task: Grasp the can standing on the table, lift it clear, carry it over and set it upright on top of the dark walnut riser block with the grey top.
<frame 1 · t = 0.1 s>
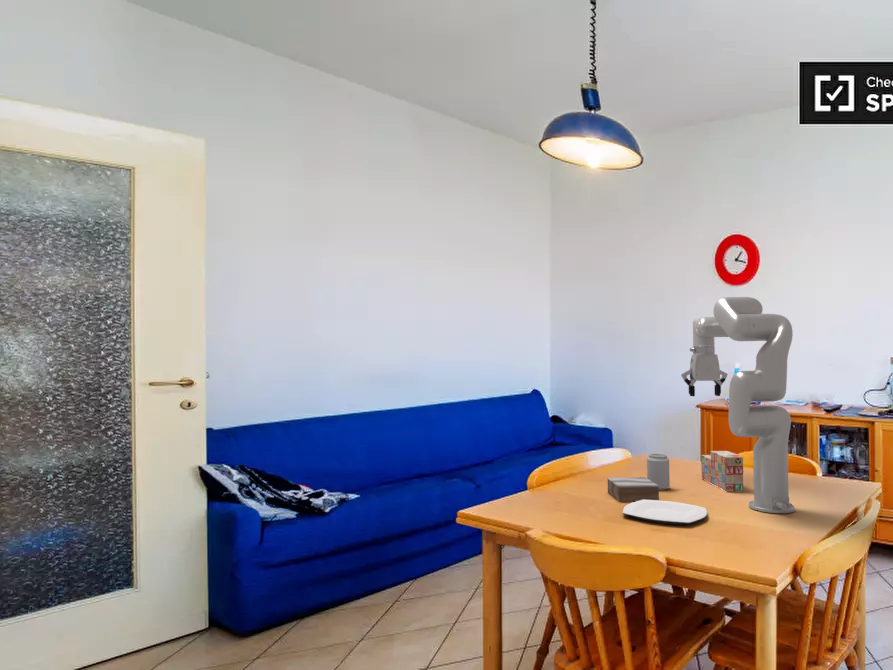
hand: (704, 395, 238), 31 cm above the table, tool pointing down, fingers open, 9 cm apart
riser: (632, 496, 210), on the table
stack of blocks: (721, 486, 225), on the table
plate: (664, 517, 186), on the table
can: (658, 488, 222), on the table
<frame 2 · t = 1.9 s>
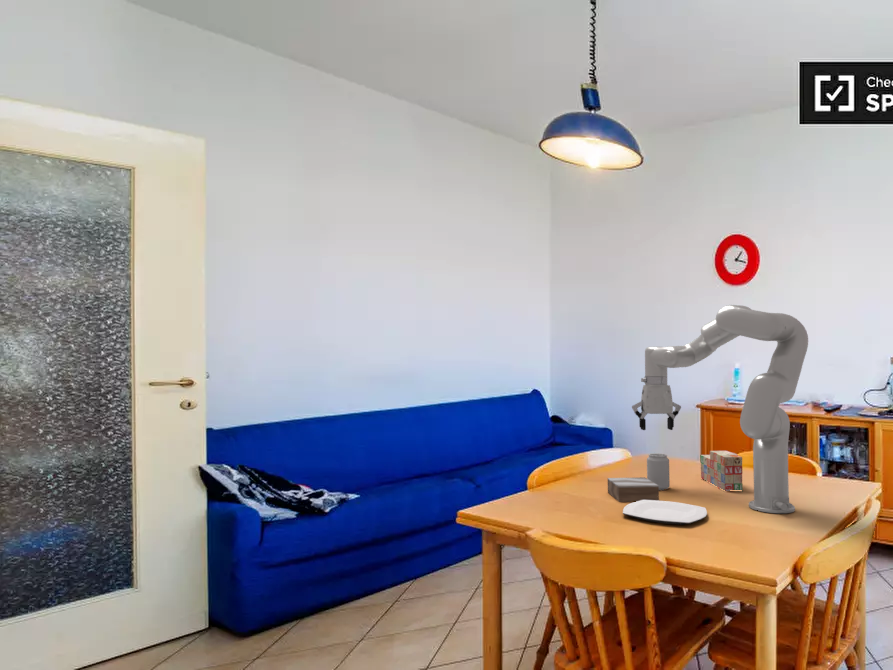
hand: (656, 429, 222), 21 cm above the table, tool pointing down, fingers open, 9 cm apart
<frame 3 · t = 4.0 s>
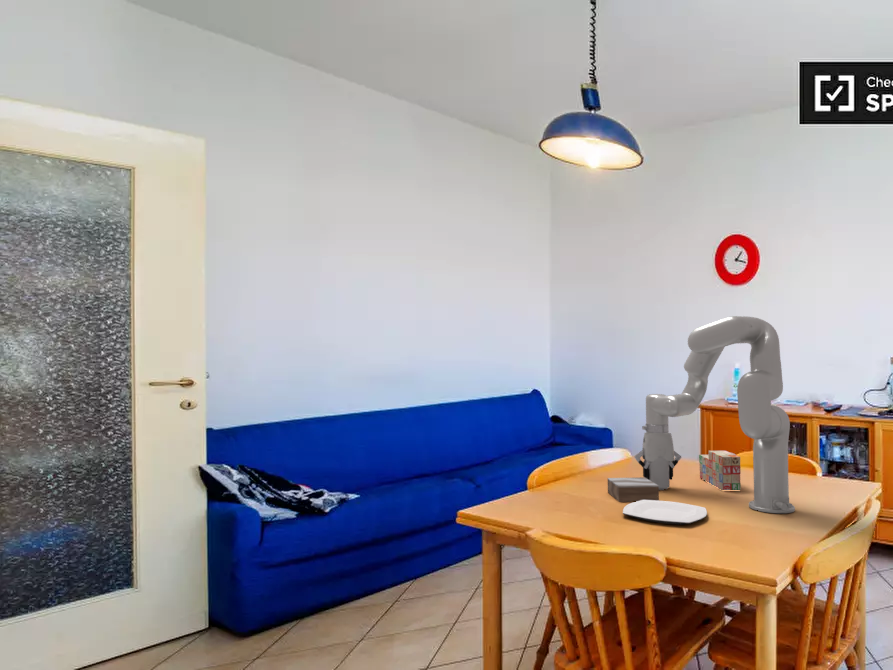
hand: (658, 478, 222), 3 cm above the table, tool pointing down, fingers closed on can, 7 cm apart
can: (658, 488, 222), on the table, touching gripper
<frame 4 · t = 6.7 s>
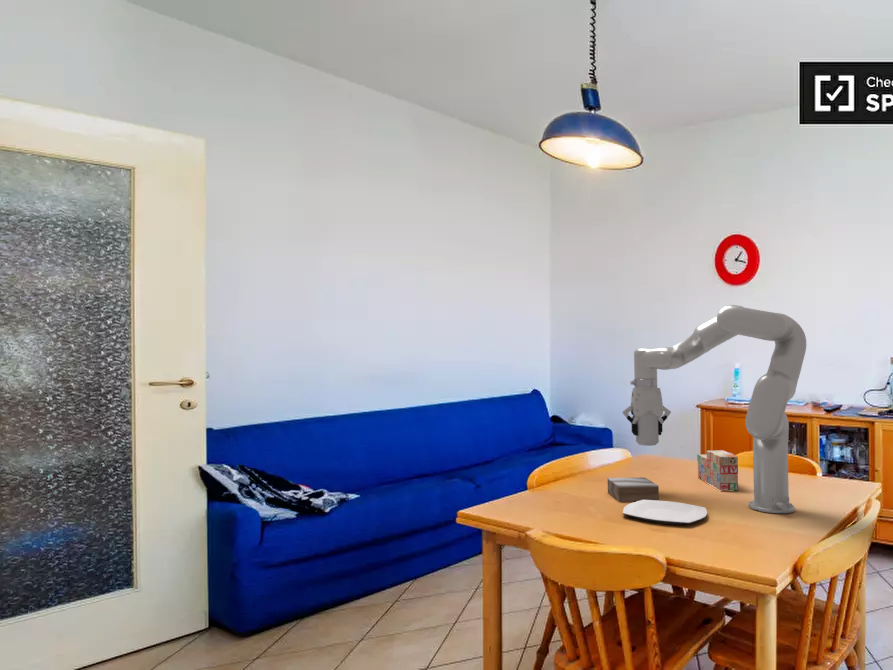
hand: (647, 434, 217), 20 cm above the table, tool pointing down, fingers closed on can, 7 cm apart
can: (647, 444, 217), point 16 cm above the table, touching gripper
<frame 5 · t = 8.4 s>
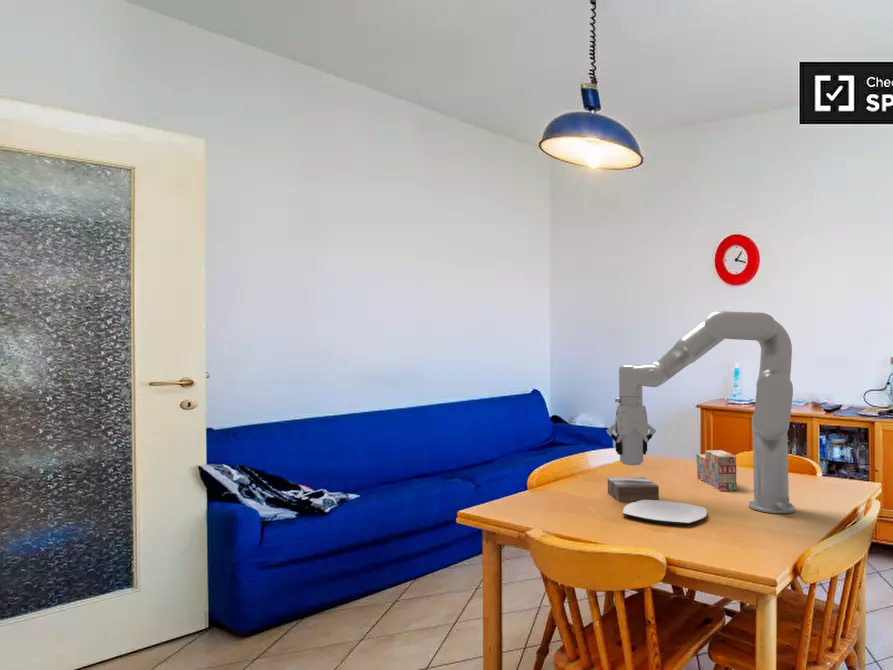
hand: (631, 453, 210), 14 cm above the table, tool pointing down, fingers closed on can, 7 cm apart
can: (631, 464, 210), point 11 cm above the table, touching gripper
when the fingers open (10 cm above the table, at t = 9.8 s): can drops 1 cm, resting on riser.
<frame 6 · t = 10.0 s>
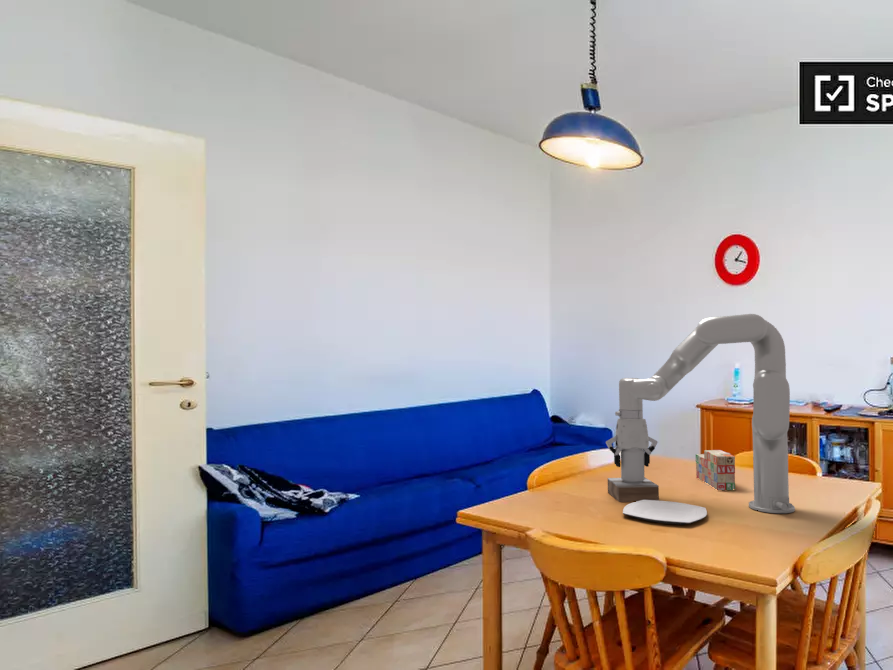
hand: (632, 466, 210), 10 cm above the table, tool pointing down, fingers open, 9 cm apart
can: (632, 482, 210), point 5 cm above the table, touching riser
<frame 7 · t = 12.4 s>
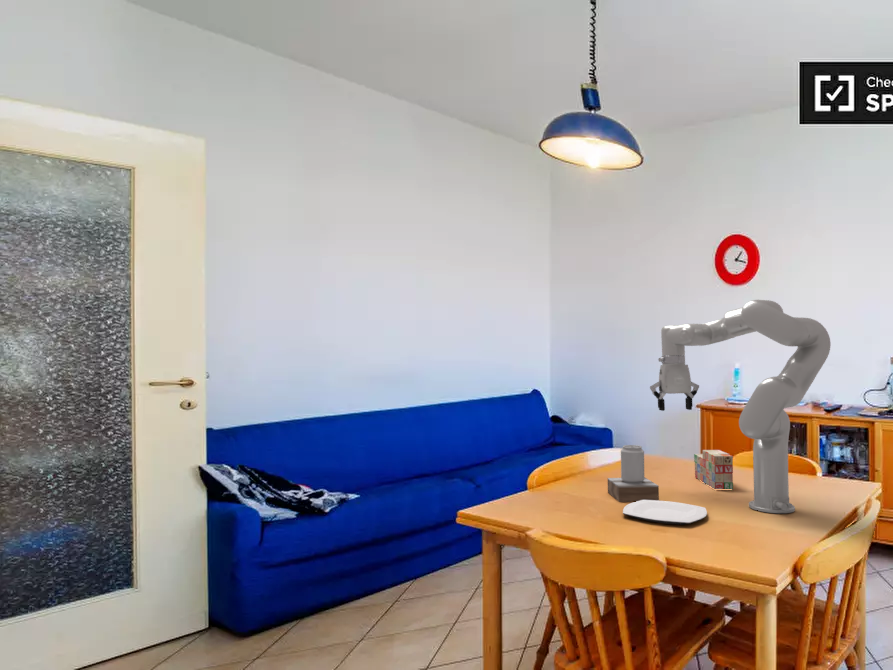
hand: (675, 409, 218), 28 cm above the table, tool pointing down, fingers open, 9 cm apart
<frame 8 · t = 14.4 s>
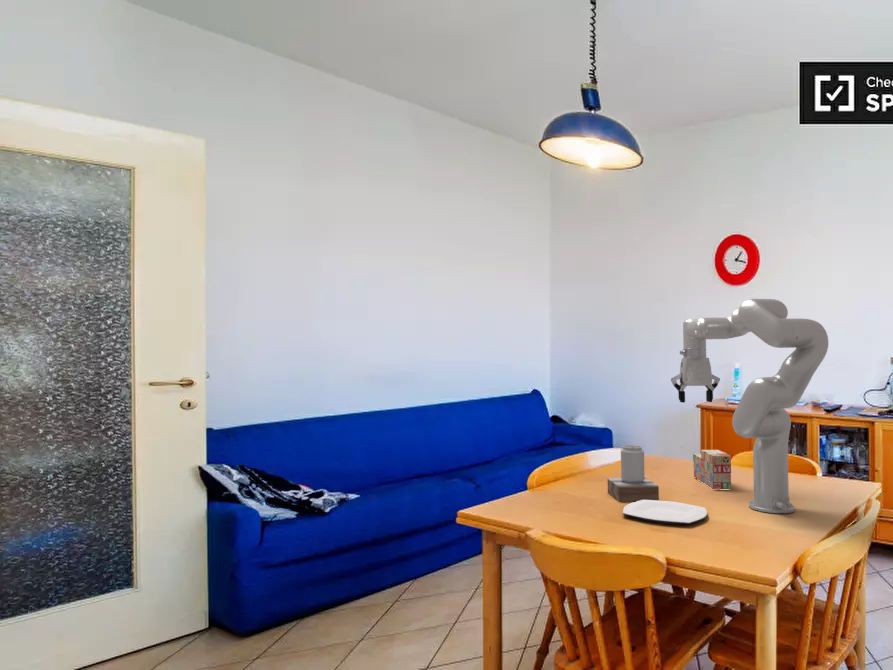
hand: (695, 401, 223), 30 cm above the table, tool pointing down, fingers open, 9 cm apart
at the end: can inside the target area on the riser (0.2 cm from its centre), point 4.8 cm above the riser's base; can tilted 0°; the gripper is holding nothing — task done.
